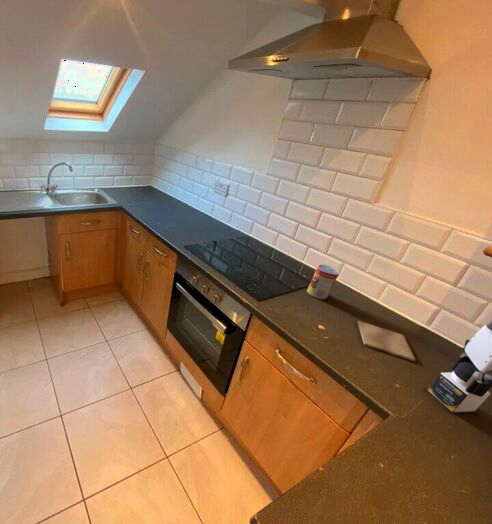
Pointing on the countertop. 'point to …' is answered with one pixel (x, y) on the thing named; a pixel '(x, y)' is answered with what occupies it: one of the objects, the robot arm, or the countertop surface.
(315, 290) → the canned food
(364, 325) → the cork mat
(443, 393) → the medicine bottle
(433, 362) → the countertop surface
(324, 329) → the countertop surface
